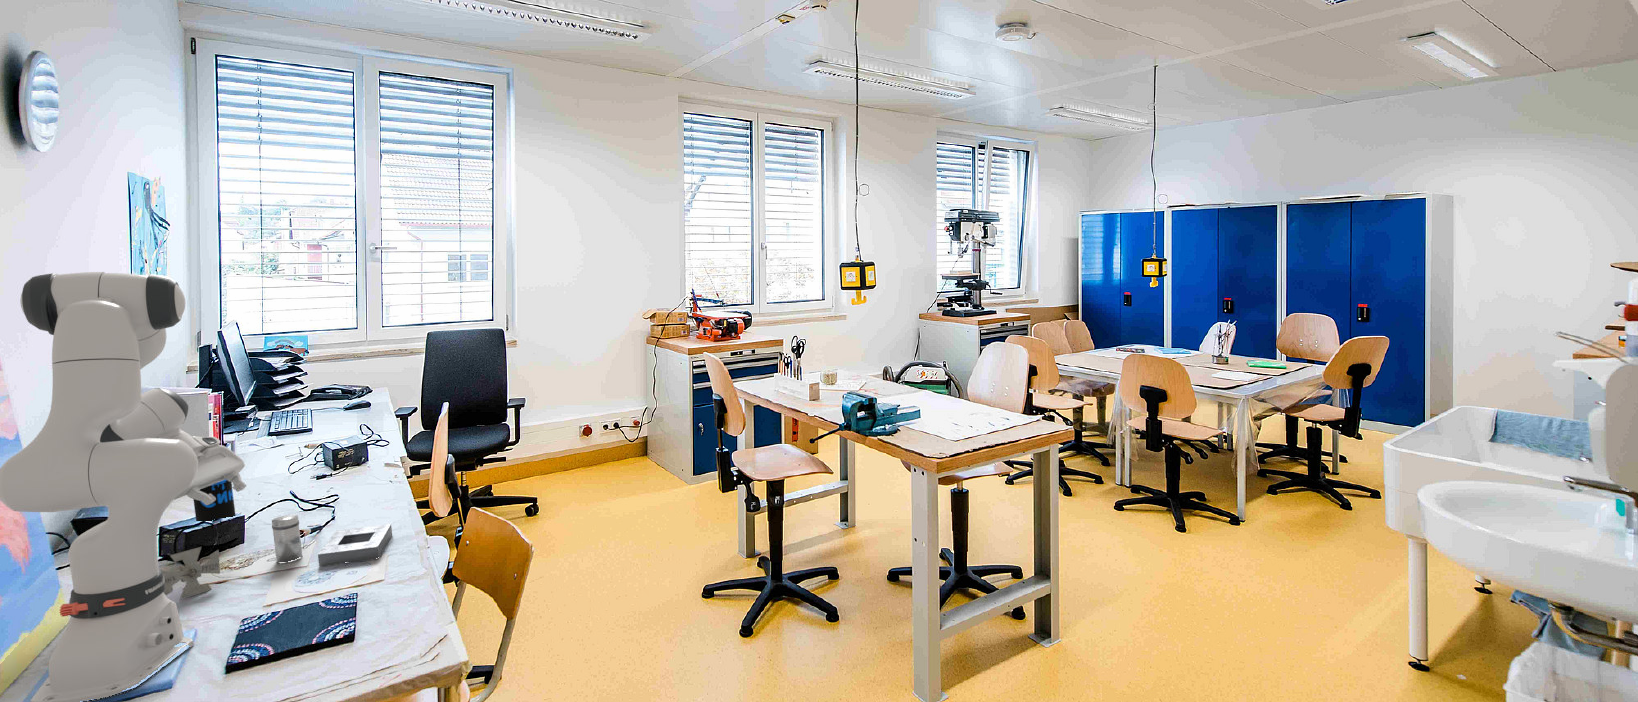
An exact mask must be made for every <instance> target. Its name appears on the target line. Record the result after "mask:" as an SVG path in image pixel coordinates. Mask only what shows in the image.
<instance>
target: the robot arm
mask: <svg viewBox="0 0 1638 702" xmlns="http://www.w3.org/2000/svg"><path fill="white" fill-rule="evenodd" d="M19 300H20V307H21V311H22V313H23V314H24V316H25V319H26V320H27V322H28V323H29V324H30V325H31V326H33V327H34V328H37V329H38V330H40V331H44V332H48V334H49V335H51V336H52V337H53V338H52V348H51V349H52V350H51V364H52V365H51V369H52V372H51V373H52V387H51V388H52V393H51V403H50V410H49V413H48V417H47V419H46V421H45V423H44V424H43V427H42V428H41V429H40V431H39V433H38V434H37V435H36V436H35V438H34V439H33V440H32V441H31V442H30V443H29V444H27V445H26V446H24V448H23V449H22V450H20V451H18V452H17V453H16V454H14V455H12V456H11V457H9V458H8V459H7V460H5V462H4V463H3V464H2V465H1V467H0V501H1V503H2V504H4V506H6V507H7V508H9V509H10V510H12V511H14V512H24V513H26V512H27V513H57V512H64V511H73V510H81V509H90V508H97V507H107V509H108V510H107V511H108V515H107V519H106V520H105V521H102V522H100V523H99V524H97V525H95V526H93V527H91V528H90V529H87V530H86V531H85V532H83V533H81V534H80V535H78V536H77V537H76V538H75V539H74V540H73V542H72V543H71V545H70V547H69V549H68V552H67V555H68V561H69V562H68V563H69V570H70V573H71V580H72V581H71V582H72V590H70V598H69V600H68V603H63V604H61V606H60V607H59V608H60V609H59V614H60V616H61V617H67V616H68V617H69V616H70V618H69V620H68V623H67V624H66V627H65V628H64V630H63V632H62V633H61V635H60V638H59V640H58V642H57V644H56V646H55V648H54V650H53V652H52V654H51V656H50V657H49V660H48V677H47V678H46V679H45V681H44V682H43V683H42V684H41V686H40V687H39V689H37V691H36V692H35V693H34V695H33V696H32V698H30V702H80V701H87V700H91V699H97V700H100V698H102V699H105V697H106V698H109V696H110V697H113V696H112V695H114V696H116V695H115V694H117V693H120V692H122V691H123V690H126V689H127V688H131V687H132V686H134V685H136V684H139V682H141V680H143V679H145V678H146V677H147V676H148V675H151V674H152V673H153V672H154V671H156V670H158V668H159V667H160V666H162V665H163V664H164V663H165V662H166V661H168V660H169V659H170V658H171V657H173V656H174V655H175V654H176V653H177V652H178V651H179V650H180V649H181V648H183V647H185V646H187V645H189V646H190V648H192V647H193V646H194V644H195V642H194V639H192V638H190V637H185V635H184V632H183V627H182V623H181V619H180V614H179V610H178V605H177V603H176V602H175V601H173V600H171V599H170V598H169V597H168V595H165V594H164V592H163V591H164V590H165V579H164V576H163V572H162V571H163V570H162V569H160V567H159V560H158V559H159V558H158V543H157V537H158V526H159V524H160V521H161V518H162V516H163V514H164V512H165V511H166V509H167V508H168V507H169V506H170V505H171V504H172V502H174V501H175V500H177V499H179V498H183V497H185V496H187V497H188V498H190V499H195V500H199V501H201V502H203V503H204V504H205V505H209V504H211V503H213V502H214V501H215V500H216V497H214V496H213V495H212V494H211V493H210V494H206V493H204V492H202V491H199V490H200V489H203V488H205V487H208V486H210V485H213V484H215V483H218V482H220V481H223V480H225V479H227V480H228V481H229V482H230V481H231V482H232V490H235V492H238V493H239V492H241V491H243V490H245V489H246V488H247V484H246V483H245V482H243V480H242V477H241V475H240V472H241V471H242V470H243V469H244V468H245V465H246V464H245V461H244V460H243V459H242V458H241V457H240V456H238V454H236V453H235V452H234V451H233V450H231V449H230V448H228V447H227V446H225V445H223V444H222V445H221V440H220V439H219V438H217V437H216V436H197V435H196V436H195V435H193V436H192V435H190V434H189V433H188V432H186V431H184V430H182V429H181V425H183V424H184V423H185V421H186V419H187V417H188V413H189V404H188V403H187V401H186V400H185V399H183V397H182V396H180V395H179V394H178V393H177V392H175V391H173V390H171V389H168V388H162V387H161V388H160V387H154V388H152V389H149V390H146V391H144V392H142V379H141V377H142V375H141V370H142V369H143V368H145V367H147V366H148V365H149V364H150V363H153V361H155V360H156V358H157V357H159V356H160V354H162V352H163V351H164V349H165V346H166V343H167V329H168V328H169V329H170V328H172V327H175V325H177V324H179V322H181V320H182V317H183V316H184V315H183V314H184V312H185V309H186V298H185V294H184V292H183V290H182V289H181V287H180V285H179V283H178V282H177V281H175V280H174V278H173V279H172V278H171V277H170V276H167V275H161V274H155V273H149V274H148V275H146V274H138V273H137V274H136V273H123V272H122V273H121V272H120V273H119V272H117V273H116V272H115V273H114V272H113V273H112V272H105V271H89V272H75V273H72V272H71V273H63V274H58V273H56V272H53V273H45V274H39V275H35V276H32V277H31V278H30V279H29V280H27V281H26V282H25V283H24V285H23V286H22V292H21V294H20V299H19ZM179 643H186V644H185V645H183V646H180V647H174V646H175V645H177V644H179ZM120 694H121V693H120ZM117 695H118V694H117ZM103 697H104V698H103ZM87 702H88V701H87Z"/></svg>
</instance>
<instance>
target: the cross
mask: <svg viewBox="0 0 1638 702" xmlns="http://www.w3.org/2000/svg"><path fill="white" fill-rule="evenodd" d="M201 550H202V546H198V547H195V548H192V549H188V550H184V551H181V552H177V553H174V554H171V555H170V558H171V559H172V560H173V561H174V562H175V563H176V562H179V561H182V562H183V563H184V565H182V566H180V567H179V571H178V570H176V571H175V570H174V571H173V570H171V571H170V570H165V571H164V570H162V572H163V576H164V579H165V590H164V591H163V592H164V594H165V595H166V596H168V594H171V593H172V592H173V590H174V588H173V586H174V585H175V584H177V583H178V582H179V581H180V582H182V583H185V586H184V588H183V590H182V594H181V595H180V599H179V600H184V599H186V598H190V597H192V596H195V595H198V594H201V593H204V592H207V591H211V590H212V587H211V586H210V585H209V583H204V584H200V582H199V581H198V579H199V578H201V577H202V574H217V575H219V574H220V573H221V569H220V568H221V566H220V553H219V552H220V551H219V549H217V550H216V551H214V552H212V553H210V555H209V558H210V560H208V561H207V562H205V563H204V564H201V562H199V561H198V560H199V556H200V553H201Z"/></svg>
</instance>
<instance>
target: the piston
mask: <svg viewBox="0 0 1638 702" xmlns="http://www.w3.org/2000/svg"><path fill="white" fill-rule="evenodd" d="M271 524H272V525H271V529H272V534H273V543H274V552H275V560H276V563H277V562H288V561H291V560H295V559H297V558H299V557H301V556H302V557H303V549H302V539H301V532H300V520H299V515H297V514H288V515H287V514H286V515H281V516H277V517H275V518H273V519H271Z"/></svg>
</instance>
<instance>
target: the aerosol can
mask: <svg viewBox="0 0 1638 702" xmlns="http://www.w3.org/2000/svg"><path fill="white" fill-rule="evenodd" d="M232 487H233V483H232V481H230V482H229V481H228V480H227V479H225V480H223V481H220V482H218V483H215V484H213V485H210V486H208V487H205V488H203V489H200V490H199V491H202V492H204V493H206V494H210V493H211V494H212V495H213V496H214V497H216V500H215V501H214V502H213V503H211V504H209V505H205V504H204V503H203V502H201V501H199V500H195V499H193V506H194V514H195V522H196V521H212V520H214V519H219V518H226V517H233V516H236V507H235V499H234V493H233V490H234V489H233V488H232Z"/></svg>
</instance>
